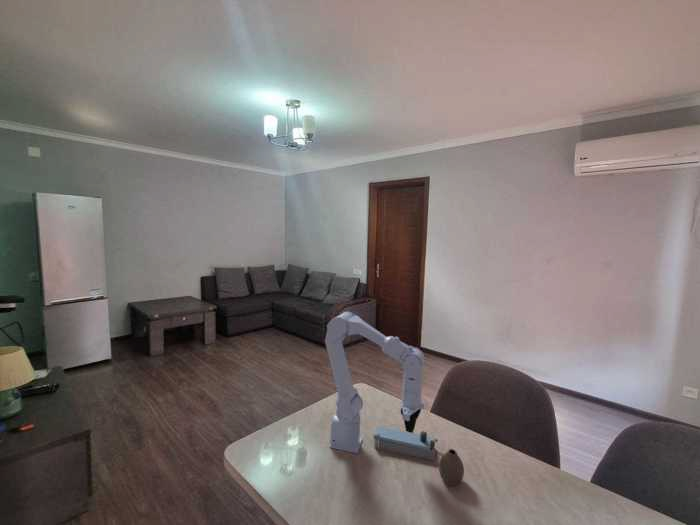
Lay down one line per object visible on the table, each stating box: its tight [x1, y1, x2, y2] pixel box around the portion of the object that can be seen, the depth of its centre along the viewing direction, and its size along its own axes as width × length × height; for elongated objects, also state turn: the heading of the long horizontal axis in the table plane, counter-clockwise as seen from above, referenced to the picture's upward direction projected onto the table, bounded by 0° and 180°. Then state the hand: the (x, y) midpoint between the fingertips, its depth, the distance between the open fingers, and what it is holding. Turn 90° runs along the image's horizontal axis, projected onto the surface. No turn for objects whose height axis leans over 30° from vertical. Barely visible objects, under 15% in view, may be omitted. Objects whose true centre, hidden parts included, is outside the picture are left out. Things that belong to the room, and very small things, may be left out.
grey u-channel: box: [374, 437, 439, 461], centre depth 105 cm, size 20×6×4 cm, turn 75°
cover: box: [373, 425, 432, 451], centre depth 105 cm, size 18×6×4 cm, turn 74°
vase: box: [438, 448, 465, 487], centre depth 91 cm, size 7×7×9 cm
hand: (409, 431), depth 98 cm, fingers closed
